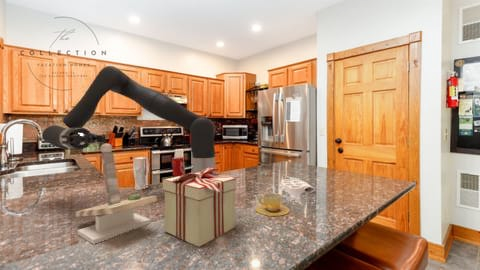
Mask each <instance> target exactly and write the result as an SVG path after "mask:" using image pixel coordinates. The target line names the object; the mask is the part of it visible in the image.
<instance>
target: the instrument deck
mask: <svg viewBox="0 0 480 270" xmlns="http://www.w3.org/2000/svg"><path fill="white" fill-rule="evenodd" d="M99 149H100V152H101V154H100V157H101V162H102V163H101V164H102V169H103V170H102V171H103V178H104V184H105V192H106V197H107V203H104V204H100V205H96V206H92V207H89V208H85V209H81V210H77V211H75V212H74V213H75V218H76V217H77V218H79V217H92V216H96V215H106V214H115V213H118V212H122V211H125V210H128V209H132V208H134V209H135V208H138V207H141V206H145V205H148V204H151V203H154V202H157V201H158V198H157V195H151V196H145V197H142V194H140V193H137V194H131V195H128V197H127V199H123V200H121V197H120V189H119V182H118V175H117V170H116V162H115V156H114V152H112V151H113V146H112V145H111V144H110V143H107V142H106V143H103V144H102V145H100V148H99Z"/></svg>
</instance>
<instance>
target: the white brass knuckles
mask: <svg viewBox="0 0 480 270" xmlns="http://www.w3.org/2000/svg"><path fill="white" fill-rule="evenodd" d="M277 186H278V187H279V188H280V190H282V191H283V192H284V193H287V194H289V195H291V196H292V195H293V196H301V195H303V194H304V193H306V194H307V193H310V194H312V193H313V192H315V187H313V186H311V185H310V184H309V183H307V182H306V181H305V180H299V179H298V180H295V179H287V178H284V179H281V180H280V184H279V185H277Z"/></svg>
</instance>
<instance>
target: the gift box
mask: <svg viewBox="0 0 480 270" xmlns="http://www.w3.org/2000/svg"><path fill="white" fill-rule="evenodd" d="M219 170H220V169H219V168H216V167H215V168H206V169H204V170H202V171H201V172H198V173H193V172H189V173H185V175H183V176H178V177H174V178H173V177H170V178H165V179H163V180H162V191H164V231H165V233H168V234H170V235H172V236H175V237H176V238H178V239H180V240H182V241H185V242H187V243H189V244H191V245H193V246H196V247H197V248H200V247H203V246H204V245H206V244H207V243H209V242H211V241H213V240H215V239H217V238H219V237H221V236H222V235H224V234H226V233H228V232H230V231H232V230H233V229H235V228H236V227H235V225H236V222H235V218H236V214H235V211H236V202H235V201H236V189H237V178H239V176H234V175H230V174H223V173H221V174H220V173H219V174H217V173H215V174H214V173H212V172H213V171H215V172H216V171H219Z"/></svg>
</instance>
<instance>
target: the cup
mask: <svg viewBox="0 0 480 270" xmlns="http://www.w3.org/2000/svg"><path fill="white" fill-rule="evenodd" d="M262 199H263V201H264V202H263V201H262ZM282 200H283V195H282V194H281V193H276V192H267V193H264V194H263V196H262V195H261V196H259V197H258V203H259V204H260V205H258V206H256V207H255V211H256V213H258V214H259V215H262V216H263V215H264V216H271V217H280V216H284V215H287V214H289V213H290V208H289V207H287V206H285V205H283V204H282ZM265 209H267V211H266V210H265ZM278 210H280V211H278ZM268 211H269V212H268ZM277 211H278V212H277Z"/></svg>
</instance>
